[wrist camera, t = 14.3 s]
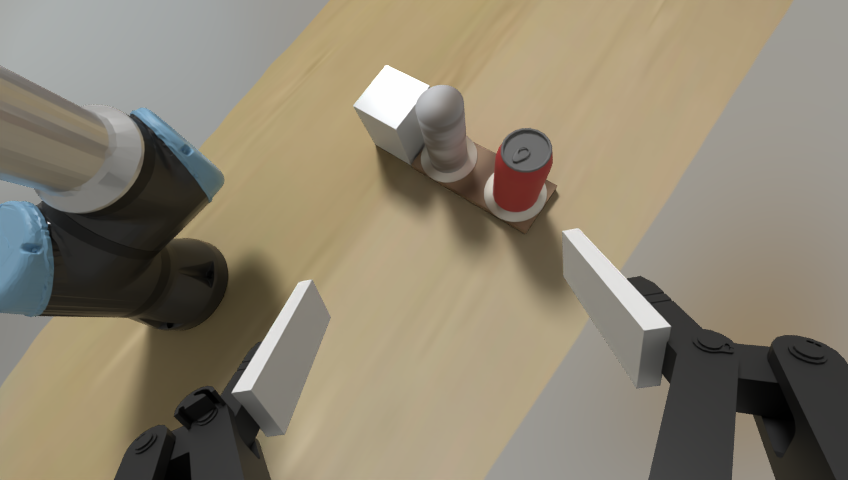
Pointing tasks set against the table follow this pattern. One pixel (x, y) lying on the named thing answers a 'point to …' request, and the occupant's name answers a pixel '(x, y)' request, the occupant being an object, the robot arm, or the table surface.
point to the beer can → (521, 169)
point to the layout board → (463, 157)
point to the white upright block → (393, 113)
